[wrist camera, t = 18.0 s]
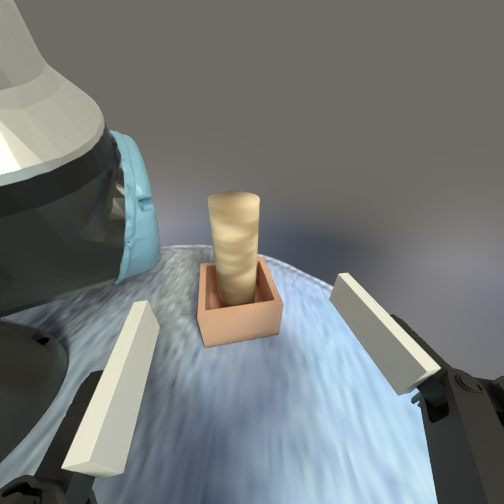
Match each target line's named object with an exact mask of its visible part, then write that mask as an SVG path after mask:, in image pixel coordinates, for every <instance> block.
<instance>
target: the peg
mask: <svg viewBox="0 0 504 504" xmlns="http://www.w3.org/2000/svg"><path fill="white" fill-rule="evenodd" d="M259 200H260V199H259V197H258V196H257V195H255V194H252V193H248V192H240V191H228V192H220V193H216V194H213V195H211V196H210V197H209V198H208V205H209V214H210V223H211V231H212V240H213V249H214V257H215V266H216V274H217V283H218V292H219V300H220V308H226V307H232V306H239V305H246V304H252V303H255V288H256V267H257V245H258V223H259V202H260V201H259Z"/></svg>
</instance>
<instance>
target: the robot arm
mask: <svg viewBox="0 0 504 504" xmlns="http://www.w3.org/2000/svg"><path fill="white" fill-rule="evenodd" d="M152 202H153V201H152V196H151V187H150V183H149V179H148V176H147V172H146V169H145V165H144V162H143V159H142V157H141V154H140V152H139V149H138V148H137V146H136V143H135V142H134V141H133V140H132V139H131V138H130V137H129V136H127V135H123V134H120V133H118V132H114V131H109V132H108V129H107V126H106V124H105V121H104V118H103V115H102V113H101V111H100V109H99V107H98V105H97V104H96V103H95V102H94V100H93V99H92V98H90V97H89V96H88V95H87V94H86V93H84V92H83V91H82V90H80V89H79V88H77V87H76V86H75V85H74V84H72V83H71V82H70V81H68V80H67V79H66V78H64V77H63V76H62V75H60V74H59V73H58V72H56V71H55V70H54V69H52V68H51V67H50V66H49V65H48V64H47V63H46V62H45V60H44V59H43V58H42V57H41V55H40V53H39V51H38V49H37V47H36V45H35V43H34V41H33V39H32V37H31V35H30V33H29V31H28V29H27V27H26V25H25V23H24V21H23V19H22V17H21V15H20V13H19V11H18V9H17V7H16V5H15V3H14V1H13V0H0V462H1V461H2V460H3V459H4V458H5V457H6V456H7V455H8V454H9V453H10V452H11V451H12V450H13V449H14V448H15V447H16V446H17V445H18V444H19V443H20V442H21V440H22V439H23V438H24V437H25V436H26V435H27V434H28V433H29V431H30V430H31V429H32V428H33V427H34V425H35V424H36V423H37V422H38V420H39V419H40V418H41V416H42V415H43V414H44V412H45V411H46V409H47V408H48V406H49V405H50V404H51V402H52V400H53V399H54V397H55V395H56V394H57V392H58V390H59V388H60V386H61V384H62V381H63V379H64V376H65V373H66V369H67V364H68V356H67V352H66V349H65V348H64V346H63V345H62V344H61V343H60V342H59V341H58V340H57V339H55V338H54V337H53V336H52V335H51V334H49V333H47V332H46V331H43V330H40V329H37V328H33V327H30V326H27V325H23V324H20V323H17V322H13V321H10V320H6V319H3V318H1V317H4V316H7V315H10V314H14V313H17V312H20V311H23V310H26V309H30V308H33V307H36V306H39V305H42V304H46V303H49V302H52V301H55V300H58V299H62V298H65V297H68V296H71V295H75V294H78V293H81V292H85V291H88V290H91V289H95V288H98V287H101V286H105V285H108V284H117V283H120V282H121V281H123V279H125V278H128V277H131V276H134V275H136V274H139V273H142V272H145V271H147V270H149V269H151V268H152V267H153V266H154V265H155V264H156V262H157V261H158V258H159V255H160V237H159V228H158V222H157V217H156V212H155V209H154V207H153V205H152ZM329 300H330V301H331V303H332V304H333V305H334V307H335V308H336V310H337V311H338V312H339V314H340V315H341V317H342V318H343V319H344V321H345V322H346V324H347V325H348V326H349V328H350V329H351V331H352V332H353V333H354V335H355V336H356V338H357V339H358V340H359V342H360V343H361V345H362V346H363V347H364V349H365V350H366V352H367V353H368V354H369V356H370V357H371V358H372V360H373V361H374V363H375V364H376V365H377V367H378V368H379V370H380V371H381V372H382V374H383V375H384V377H385V378H386V379H387V381H388V382H389V384H390V385H391V386H392V388H393V389H394V391H395V392H396V393H397V395H398V396H399V395H403V394H406V393H410V392H411V391H413V390H414V389H415V388H417V389H418V390H419V391H420V392H419V393H417V394H416V395H415V396H413V398H412V399H411V403H413V404H414V403H416V402H417V401H419V403H418V405H417V406H419V407H421V413H422V419H423V424H424V430H425V435H426V441H427V446H428V452H429V457H430V463H431V468H432V474H433V479H434V485H435V490H436V496H437V501H438V504H504V376H501V377H499V378H497V379H495V380H487V379H481V378H474V377H472V376H471V375H469V374H468V373H466V372H464V371H462V370H458V369H454V368H452V367H451V366H450V365H448V364H447V363H446V362H445V361H444V360H443V359H442V358H441V357H440V356H439V355H438V354H437V353H436V352H435V351H434V350H433V349H432V348H431V347H430V346H429V345H428V344H427V343H426V342H425V341H424V340H423V339H422V338H420V337H419V336H418V335H417V334H416V333H415V332H414V331H412V329H411V328H410V327H409V326H408V325H407V324H406V323H405V322H404V321H403V320H401V319H400V318H398V317H396V316H395V315H394V314H393V315H388V313H386V311H385V310H384V309H383V308H382V307H381V306H380V305H379V304H378V303H377V302H376V301H375V300H374V299H373V298H372V297H371V296H370V295H369V294H368V293H367V292H366V291H365V290H364V289H363V288H362V287H361V286H360V285H359V284H358V283H357V282H356V281H355V280H354V279H353V278H352V277H351V276H350V275H349V274H348V273H342V274H338V276H337V280H336V282H335V285H334V287H333V290H332V293H331V296H330V298H329ZM159 328H160V326H159V324H158V322H157V320H156V317H155V315H154V313H153V311H152V309H151V307H150V305H149V302H148V300H145V301H138V302H134V303H133V305H132V308H131V310H130V312H129V315H128V317H127V319H126V321H125V324H124V326H123V328H122V331H121V333H120V335H119V337H118V340H117V342H116V344H115V347H114V349H113V351H112V353H111V356H110V358H109V360H108V363H107V365H106V367H105V369H104V370H101V371H96V372H91V373H90V375H89V376H88V377H87V378H86V379H85V380H84V382H83V383H82V384H81V385H80V387H79V389H78V391H77V393H76V395H75V397H74V399H73V402H72V404H71V405H70V407H69V409H68V411H67V413H66V416H65V417H64V418H63V420H62V422H61V424H60V426H59V428H58V430H57V432H56V434H55V436H54V438H53V440H52V442H51V444H50V446H49V448H48V450H47V452H46V454H45V456H44V458H43V460H42V462H41V464H40V466H39V468H38V470H37V471H36V473H35V475H34V476H31V475H23V476H21V477H18V478H15V479H14V480H12V481H11V482H9V483H8V484H7V485H5V486H4V487H2V488H1V489H0V504H97V501H96V498H95V495H94V492H93V490H92V486H93V483H94V480H95V477H96V478H100V479H104V478H108V477H111V476H115V475H119V474H122V473H124V469H125V465H126V461H127V457H128V453H129V449H130V445H131V441H132V437H133V433H134V429H135V425H136V421H137V417H138V413H139V409H140V405H141V401H142V397H143V393H144V389H145V384H146V380H147V376H148V372H149V368H150V364H151V360H152V356H153V352H154V348H155V344H156V340H157V336H158V332H159Z"/></svg>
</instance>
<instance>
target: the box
mask: <svg viewBox="0 0 504 504" xmlns="http://www.w3.org/2000/svg"><path fill="white" fill-rule="evenodd" d="M282 310H283V302H282V300H281V298H280V295H279V293H278V291H277V288H276V286H275V283H274V281H273V279H272V276H271V274H270V272H269V269H268V267H267V265H266V262H265V260H264V258H263V257H257V267H256V288H255V303H252V304H246V305H239V306H232V307H226V308H220V300H219V292H218V283H217V274H216V266H215V262H210V263H201V268H200V284H199V299H198V314H197V319H198V323H199V327H200V330H201V334H202V338H203V342H204V346H205V348H207V347H213V346H218V345H224V344H229V343H234V342H240V341H245V340H251V339H256V338H261V337H267V336H272V335H278V334H279V329H280V323H281V316H282Z"/></svg>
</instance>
